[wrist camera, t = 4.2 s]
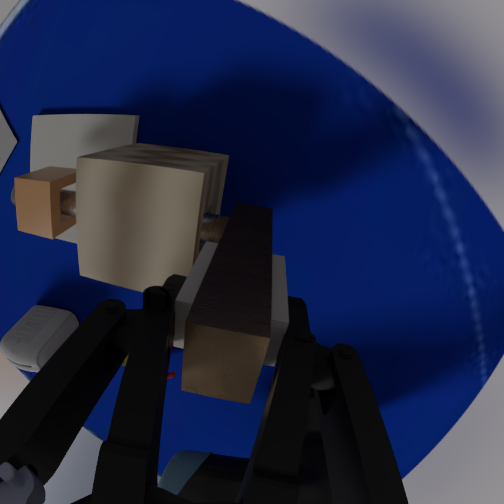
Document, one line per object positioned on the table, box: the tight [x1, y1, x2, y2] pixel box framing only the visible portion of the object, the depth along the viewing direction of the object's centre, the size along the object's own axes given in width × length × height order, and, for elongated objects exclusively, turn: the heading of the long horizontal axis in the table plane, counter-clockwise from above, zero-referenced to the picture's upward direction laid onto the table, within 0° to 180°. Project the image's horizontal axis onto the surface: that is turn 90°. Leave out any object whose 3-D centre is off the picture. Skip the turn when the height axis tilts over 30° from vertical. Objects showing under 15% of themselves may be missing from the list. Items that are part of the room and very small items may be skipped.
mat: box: [30, 114, 139, 243], centre depth 30 cm, size 16×16×1 cm
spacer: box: [15, 166, 76, 239], centre depth 23 cm, size 5×5×6 cm
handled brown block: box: [11, 186, 273, 404], centre depth 18 cm, size 26×4×16 cm, turn 79°
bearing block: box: [76, 143, 229, 292], centre depth 26 cm, size 10×10×11 cm
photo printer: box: [0, 305, 79, 372], centre depth 34 cm, size 10×4×12 cm, turn 91°
